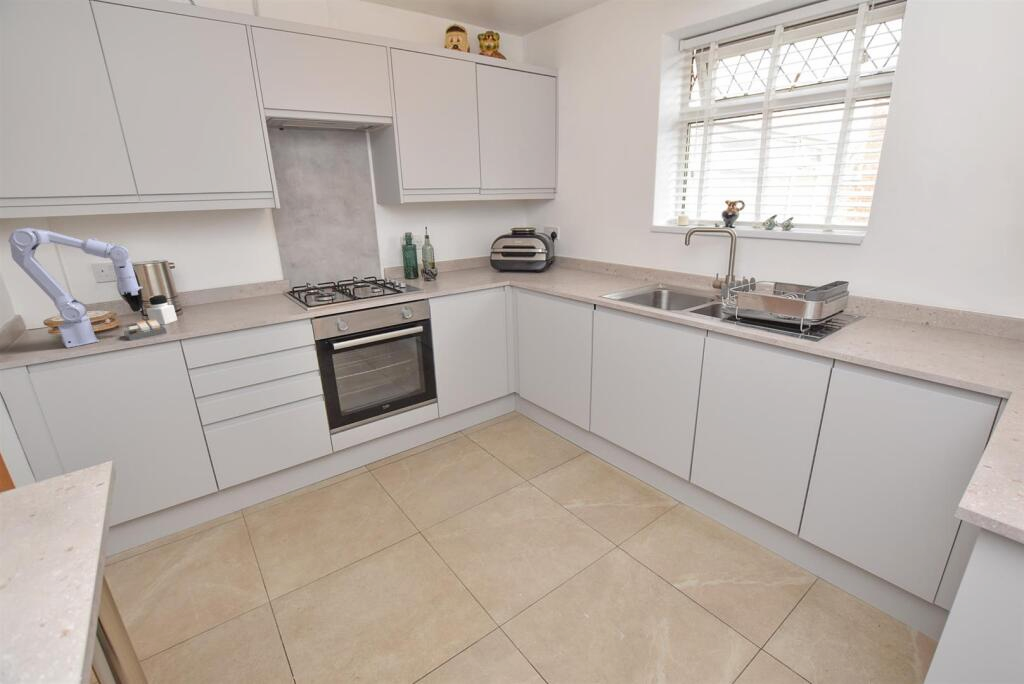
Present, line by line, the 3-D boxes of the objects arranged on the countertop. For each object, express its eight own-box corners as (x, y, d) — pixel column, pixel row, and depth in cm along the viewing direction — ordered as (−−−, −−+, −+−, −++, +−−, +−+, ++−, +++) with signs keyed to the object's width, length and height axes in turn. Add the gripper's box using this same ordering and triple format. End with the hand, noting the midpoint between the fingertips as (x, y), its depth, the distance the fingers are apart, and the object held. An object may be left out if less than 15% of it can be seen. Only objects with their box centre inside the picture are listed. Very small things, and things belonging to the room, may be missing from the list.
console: (130, 340, 182) (128, 335, 181) (124, 336, 188) (123, 330, 187) (166, 332, 190) (165, 327, 189) (160, 328, 196) (158, 323, 196)
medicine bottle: (178, 320, 210) (170, 293, 206) (165, 324, 203) (157, 297, 199) (163, 320, 210) (155, 294, 207) (150, 324, 204) (142, 297, 200)
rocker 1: (130, 329, 182) (129, 326, 182) (127, 330, 187) (126, 327, 187) (138, 328, 184) (137, 325, 184) (135, 329, 189) (134, 326, 188)
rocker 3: (152, 328, 188) (151, 325, 187) (147, 323, 191) (147, 320, 191) (160, 327, 190) (159, 324, 189) (155, 321, 193) (154, 318, 193)
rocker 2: (141, 330, 185) (141, 328, 185) (137, 325, 189) (136, 322, 188) (149, 329, 187) (149, 326, 187) (145, 323, 191) (144, 320, 190)
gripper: (143, 277, 181) (153, 311, 186) (134, 274, 191) (144, 306, 195) (120, 280, 176) (131, 315, 181) (112, 276, 186) (123, 310, 190)
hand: (136, 311), depth 187 cm, fingers closed
